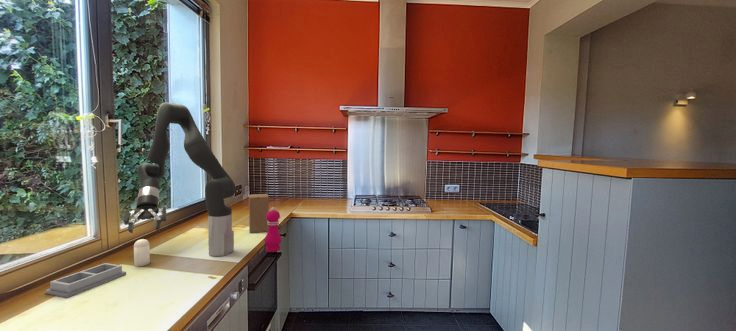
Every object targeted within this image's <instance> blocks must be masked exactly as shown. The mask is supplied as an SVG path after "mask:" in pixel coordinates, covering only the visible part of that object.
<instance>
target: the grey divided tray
mask: <svg viewBox="0 0 736 331" xmlns="http://www.w3.org/2000/svg"><path fill="white" fill-rule="evenodd" d="M125 275H127V271H124V270H123V265H120V264H114V263H108V262H107V263H106V262H104V263H102V264H99V265H96V266H93V267H90V268H86V269H83V270H81V271H77V272H75V273H72V274H69V275H67V276H63V277H60V278H57V279H55V280H54V279H53V280H51V281H49V288H47V289H45V294H47V295H52V296H57V297H62V298H67V299H68V298H70V297H73V296H75V295H77V294H80V293H83V292H86V291H88V290H91V289H93V288H95V287H98V286H101V285H103V284H105V283H108V282H111V281H113V280H115V279H116V280H117V279H118V278H120V277H123V276H125Z"/></svg>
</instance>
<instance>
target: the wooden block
mask: <svg viewBox="0 0 736 331" xmlns="http://www.w3.org/2000/svg"><path fill="white" fill-rule="evenodd" d="M269 197H270V196H269V194H268V193H261V194H260V193H258V194H255V193H253V194H249V198H248V199H249V200H248V201H249V203H248V204H249V205H248V206H249V208H248V209H249V211H248V212H249V225H248V226H249V228H248V231H249V232H248V233H249V234H255V233H258V234H259V233H267V232H268V224H267V223H268V220H267V218H266V215H267V213H268V212H269V210H270V208H269V207H270V202H269V200H270V198H269Z"/></svg>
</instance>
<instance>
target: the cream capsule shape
mask: <svg viewBox="0 0 736 331" xmlns="http://www.w3.org/2000/svg"><path fill="white" fill-rule="evenodd" d="M150 256H151V255H150V242H149V240H147V239H146V238H145V239H144V238H141V239H138V240H136V241H135V242H134V244H133V261H134V262H133V265H134V267H137V268H138V267H144V266H147V265H149V264H150V263H151V262H150V261H151V260H150V259H151V257H150Z"/></svg>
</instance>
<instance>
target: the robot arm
mask: <svg viewBox="0 0 736 331" xmlns="http://www.w3.org/2000/svg"><path fill="white" fill-rule="evenodd" d="M170 124H172V125H173V124H175V125H179V126H180V127H181V129H182V131H183V133H184V139H183V149H184V152H185V153H186V154H187V156H188V158H189V160H191V162H192V163H193V164H195V165H196V166H197V167H199V169H201V170H203V171H205V173H207V174H208V175H209V176H210V177H211V179H210V180H208V181H207V182H206V184H205V189H204V194H205V197H204V198H205V207H206V210H207V214H208V215H207V216H208V220H207V221H208V223H207V225H208V229H207V230H208V232H207V233H208V240H207V241H208V243H207V244H208V255H209V256H211V257H221V256H222V257H225V256H226V255H229V254H231V253H233V252H235V245H234V244H235V234H234V233H235V232H234V230H233V224H232V223H233V222H232V221H233V219H232V218H233V214H232V213H233V209H232V207H231V206H228V205H226V204H225V199H229V198H232V197H234V196H235V194H236V192H237V188H236V184H235V182H234V180H233V179H232V177H231V176H230V175H229V173H227V171H226V170H225V169H224V167H223V166H222V165H221V163H220V162H219V160H218V158H217V157H216V156H215V154H214V152H213V151H212V148H211V147H210V145H209V144H208V142H207V140H206V139H205V138H204V137H203V135H202V132H201V131H200V129H199V127H198V126H197V124H196V122H195V119H194V117H193V116H192V113H191V111H190V110H189V109H188V107H187V106H186V105H183V104H181V103H174V102H163V103H161V104H160V105H159V108H158V109H157V114H156V120H155V128H154V133H153V134H154V135H153V138H152V139H153V140H152V142H151V146H150V149H149V151H148V153H147V159H148V160H149V162H152V163H149V162H142V163H140V164H139V165H138V166H137V170H136V171H137V172H136V173H137V177H138V179H139V183H140V184H139V191H138V194H137V199H136V205H135V206H136V208H135V209H134V210H130V209H126V210H125V214H124V216H123V224H124V226H126V225H128V226H127V230H128V233H130V234H133V233H134V227H135V226H134V225H135V224H136V223H138V222H140V220H143V221H144V220H145V221H146V220H151V219H153V220H154V221H156V222H155V231H159V230H160V229H161V227H162V226H161V225H162V223H163V222H166V221H167V207H164V206H163V207H162V208H159V199H160V192H159V191H160V181H159V180H161V179H162V178H164V176H165V173H166V168H165V166H166V165H165V164H166V159H167V157H168V154H169V151H170V147H171V144H170V140H169V137H168V128H169V125H170ZM159 213H161V214H162V217H160V216H159V215H158V214H159ZM132 216H133V217H132ZM130 217H132V218H131V219H130Z"/></svg>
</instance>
